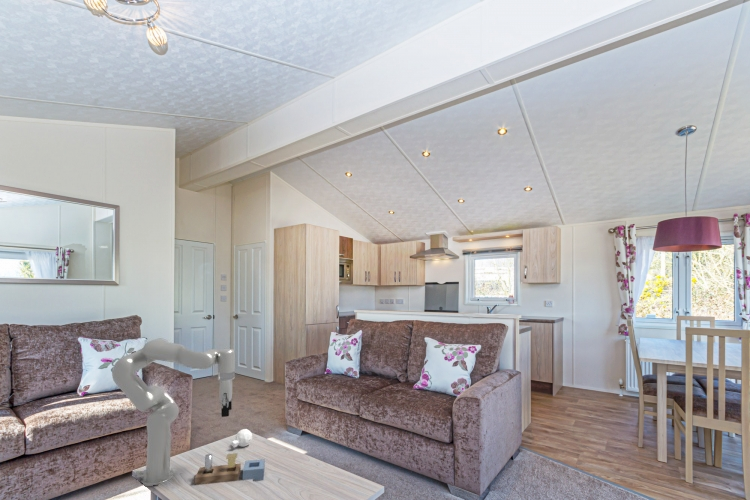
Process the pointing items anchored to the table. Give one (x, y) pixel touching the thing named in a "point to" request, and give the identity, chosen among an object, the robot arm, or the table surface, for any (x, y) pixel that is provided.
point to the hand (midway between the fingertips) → (226, 413)
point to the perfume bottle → (242, 438)
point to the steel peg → (208, 463)
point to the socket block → (218, 474)
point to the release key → (231, 460)
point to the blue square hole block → (254, 470)
